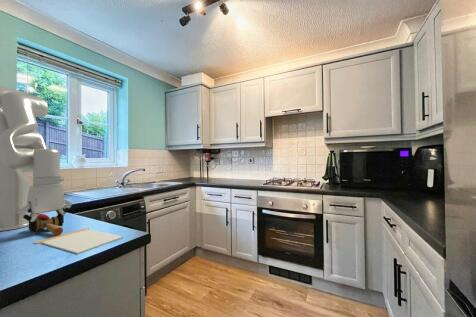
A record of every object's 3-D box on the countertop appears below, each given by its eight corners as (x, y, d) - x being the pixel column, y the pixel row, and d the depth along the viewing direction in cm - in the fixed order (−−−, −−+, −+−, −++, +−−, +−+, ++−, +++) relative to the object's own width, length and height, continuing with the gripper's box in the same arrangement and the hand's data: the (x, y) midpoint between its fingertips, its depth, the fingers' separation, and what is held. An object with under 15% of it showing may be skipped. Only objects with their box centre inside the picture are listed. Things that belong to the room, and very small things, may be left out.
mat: (41, 243, 69) (41, 242, 69) (87, 230, 81) (87, 229, 81) (78, 254, 60) (78, 252, 60) (123, 237, 73) (123, 236, 73)
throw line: (33, 243, 69) (33, 242, 69) (86, 228, 83) (86, 228, 83) (36, 244, 68) (36, 243, 68) (89, 229, 83) (89, 228, 83)
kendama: (72, 234, 80) (50, 222, 88) (70, 219, 79) (47, 208, 87) (47, 245, 73) (25, 231, 82) (44, 229, 72) (22, 215, 80)
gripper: (67, 179, 90) (67, 221, 90) (10, 183, 74) (10, 234, 74) (78, 179, 87) (78, 223, 87) (20, 184, 71) (20, 237, 71)
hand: (47, 228), depth 80 cm, fingers closed on kendama, 7 cm apart
